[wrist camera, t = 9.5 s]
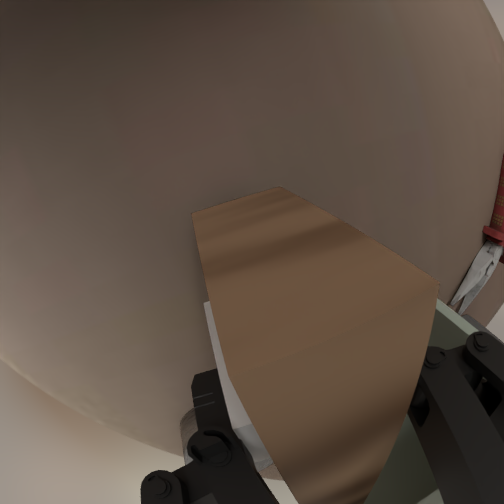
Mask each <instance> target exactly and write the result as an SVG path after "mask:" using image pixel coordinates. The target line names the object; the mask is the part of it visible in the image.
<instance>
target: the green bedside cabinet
mask: <svg viewBox="0 0 504 504" xmlns="http://www.w3.org/2000/svg"><path fill="white" fill-rule="evenodd" d="M477 331H478V330H477V329H476V328H475V327H473V326H472V325H471V324H470V323H468V322H467V321H466V320H465V319H463V318H462V317H461V316H460V315H458V314H457V313H456V312H455V311H453V310H452V309H451V308H449V307H448V306H447V305H445V304H444V303H443V302H442V301H440V300H439V299H438V298H437V304H436V309H435V314H434V319H433V324H432V329H431V334H430V338H429V342H428V346H429V347H430V346H436V347H440V348H442V349H444V350H449V349H453V348H456V347H459V346H462V345H465V343H466V340H467V338H468V337H469V335H470V334H472V333H474V332H477ZM483 379H485V378H484V377H483ZM364 504H444V502H443V500H442V497H441V494H440V491H439V489H438V486H437V483H436V481H435V478H434V475H433V473H432V470H431V468H430V465H429V463H428V460H427V458H426V455H425V453H424V451H423V448H422V446H421V444H420V441H419V439H418V437H417V434H416V432H415V430H414V427H413V425H412V423H411V421H410V418H409V416H408V415H407V414H406V417H405V419H404V422H403V424H402V427H401V429H400V432H399V434H398V437H397V439H396V441H395V444H394V446H393V448H392V450H391V452H390V455H389V457H388V459H387V461H386V463H385V465H384V467H383V469H382V471H381V473H380V475H379V477H378V479H377V481H376V483H375V484H374V486H373V488H372V490H371V492H370V493H369V495H368V497H367V499H366V500H365V502H364Z"/></svg>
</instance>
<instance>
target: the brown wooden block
mask: <svg viewBox="0 0 504 504" xmlns="http://www.w3.org/2000/svg"><path fill="white" fill-rule="evenodd" d="M191 215H192V220H193V225H194V231H195V236H196V241H197V246H198V250H199V255H200V260H201V265H202V269H203V274H204V279H205V283H206V288H207V292H208V296H209V301H210V305H211V309H212V314H213V318H214V322H215V326H216V330H217V334H218V338H219V342H220V346H221V350H222V354H223V358H224V362H225V365H226V369H227V373H228V377H229V379H230V381H231V383H232V385H233V387H234V389H235V391H236V393H237V395H238V397H239V399H240V401H241V403H242V405H243V407H244V409H245V411H246V413H247V415H248V416H249V418H250V420H251V422H252V424H253V426H254V428H255V430H256V432H257V433H258V435H259V437H260V439H261V441H262V443H263V444H264V446H265V448H266V450H267V452H268V453H269V455H270V457H271V459H272V460H273V462H274V464H275V466H276V467H277V469H278V471H279V472H280V474H281V476H282V477H283V479H284V481H285V482H286V484H287V486H288V487H289V489H290V491H291V492H292V494H293V495H294V497H295V499H296V500H297V502H298V503H299V504H364V502H365V500H366V499H367V497H368V495H369V493H370V492H371V490H372V488H373V486H374V484H375V483H376V481H377V479H378V477H379V475H380V473H381V471H382V469H383V467H384V465H385V463H386V461H387V459H388V457H389V455H390V452H391V450H392V448H393V446H394V444H395V441H396V439H397V437H398V434H399V432H400V429H401V427H402V424H403V422H404V419H405V417H406V414H407V411H408V409H409V406H410V403H411V400H412V397H413V394H414V391H415V388H416V385H417V382H418V379H419V376H420V372H421V369H422V365H423V362H424V358H425V354H426V350H427V346H428V342H429V338H430V334H431V329H432V324H433V319H434V314H435V309H436V304H437V298H438V291H439V285H440V282H438V281H437V280H435V279H434V278H432V277H431V276H429V275H428V274H427V273H425V272H424V271H422V270H421V269H419V268H418V267H416V266H415V265H413V264H411V263H410V262H408V261H407V260H405V259H404V258H402V257H401V256H399V255H398V254H396V253H394V252H393V251H391V250H390V249H388V248H386V247H385V246H383V245H382V244H380V243H378V242H377V241H375V240H374V239H372V238H370V237H369V236H367V235H365V234H364V233H362V232H360V231H359V230H357V229H355V228H354V227H352V226H350V225H348V224H347V223H345V222H343V221H342V220H340V219H338V218H336V217H335V216H333V215H331V214H329V213H328V212H326V211H324V210H322V209H321V208H319V207H317V206H315V205H313V204H311V203H310V202H308V201H306V200H304V199H302V198H300V197H299V196H297V195H295V194H293V193H291V192H289V191H287V190H285V189H284V188H282V187H276V188H273V189H269V190H266V191H262V192H259V193H255V194H252V195H249V196H245V197H242V198H239V199H235V200H232V201H229V202H226V203H222V204H219V205H216V206H213V207H210V208H207V209H203V210H200V211H197V212H194V213H191Z"/></svg>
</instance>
